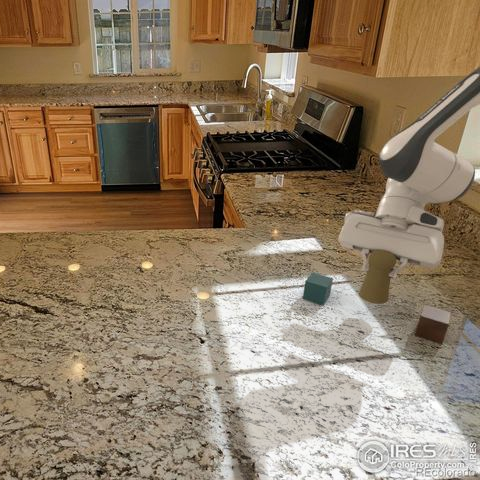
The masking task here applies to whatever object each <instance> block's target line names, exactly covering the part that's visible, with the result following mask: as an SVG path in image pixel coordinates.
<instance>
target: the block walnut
mask: <svg viewBox="0 0 480 480" xmlns="http://www.w3.org/2000/svg"><path fill="white" fill-rule="evenodd" d="M451 317H452V312H451V311H448V310H443V309H440V308H437V307H434V306H432V305H431V306H430V305H428V304H423V306H422V308H421V312H420V315H419V318H418V322H417V326H416V328H415V332H414V336H415V337H418V338H423V339H426V340H429V341H432V342H435V343H437V344H441V345H443V343H444V340H445V338H446V334H447V331H448V328H449V325H450V322H451Z"/></svg>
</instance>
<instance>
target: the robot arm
mask: <svg viewBox="0 0 480 480" xmlns="http://www.w3.org/2000/svg"><path fill="white" fill-rule="evenodd" d="M477 106H480V66H478V67H477V68H475V69H474V70H473V71H472V72H470V73H468V74H467V75H466V76H465V77H464V78H463V79H462V80H460V81H459V82H458V83H457V84H456V85H454V86H453V87H452V88H451V89H450V90H449V91H447V92H446V93H445V94H444V95H443V96H442V97H440V99H438V100H437V101H436V102H435V103H433V105H431V106H430V107H429V108H428V109H427V110H426V111H425V112H423V113H422V114H421V115H420V116H419V117H418V118H416V119H415V120H414V121H413V122H412V123H410V124H409V125H408V126H407V127H405V128H403V129H402V130H400V131H399V132H397V133H396V134H395V135H393V136H392V137H391V138H389V139H388V141H386V143H385V144H384V145H383V146H382V148H381V149H380V152H379V154H378V155H379V156H378V162H379V169H380V171H381V173H382V175H383V176H384V177H386V178H387V179H386V184H385V191H384V193H383V195H382V196H381V198H380V200H379V203H378V207H377V209H376V212H371V211H365V210H364V211H363V210H361V209H354V210H350V211H348V212H347V213H346V214H345V216H344V219H343V226H342V227H341V230H340V232H339V234H338V243H339V245H340V246H341V247H343V248H347V249H350V250H354V251H358V252H361V253H360V254H361V259H362V262H363V263H362V266H361V271H362V272H365V273H367V271H369V268H370V263H369V261H368V259H367V258H369V256H370V254H371V252H373V251H374V250H379V249H381V250H387V251H390V252H392V253H393V254H394V255H395V257H396V261H399V262H398V266H397V267H395V268H394V267H393V268H392V269H391V270H390V273H389V275H388V276H389V277H390V279H392V280H397V276H398V275H399V273H401V272H402V271H404V270H405V269H406V267H407V265H408V264H411V265H415V266H419V267H423V268H427V269H432V270H435V269H437V268H438V267H440V265H441V262H442V258H443V253H444V249H445V248H444V246H445V237H444V236H445V235H444V234H443V231H444V226H445V223H444V222H445V221H444V219H443V218H440V217H439V216H437V215H434V214H432V213H430V212H428V211H426V210H425V206H426V205H428V204H431V205H437V204H445V203H450V202H455V201H457V200H460V199H462V198H463V197H464V196H466V194H467V193H468V192H469V191H470V189H471V188H472V186H473V184H474V181H475V178H476V168H475V166H474V164H473V163H471V162H470V161H468V160H467V159H465V158H464V157H462V156H460V155H458V154H457V153H456V152H453V151H451V150H450V149H448V148H446V147H444V146H442V145H440V144H439V143H437V142H435V140H436V139H437V138H438V137H439V136H440V135H441V134H443V133H444V132H445V131H446V130H447V129H449V128H450V127H451V126H452V125H454V124H455V123H456V122H457V121H459V120H460V118H462V117H463V116H465V115H466V114H468V112H469V111H471V110H472V109H474V108H476V107H477Z"/></svg>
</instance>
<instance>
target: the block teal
mask: <svg viewBox="0 0 480 480" xmlns="http://www.w3.org/2000/svg"><path fill="white" fill-rule="evenodd" d="M333 282H334V278H333V277H330V276H326V275H323V274H320V273H316V272H311V273H310V275H309V276H308V277H307V278H306V279H305V281H304V288H303V294H302V300H305V301H309V302H312V303H315V304H317V305H320V306H325V304H326V303H327V301H328V299H329V298H330V297H331V291H332V287H333Z"/></svg>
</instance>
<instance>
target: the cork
mask: <svg viewBox="0 0 480 480" xmlns="http://www.w3.org/2000/svg"><path fill="white" fill-rule="evenodd" d="M368 262H369V263H370V268H369V271H367V272H366V274H365V276H364V278H363V281H362V283H361V286H360V288H359V291H358V296H359V298H361V299H362V300H364V301H365V302H368V303H371V304H375V305H383V304H386V303H388V302H389V297H390V285H391V278H390V277H389V276H388V275H389V273H390V270H391V269H392V268H393V269H394V267H395V266H396V264H397V260H396V257H395V255H394V254H393V253H392V252H390V251H387V250H381V249H379V250H374V251H373V252H371V254H369V256H368Z"/></svg>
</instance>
